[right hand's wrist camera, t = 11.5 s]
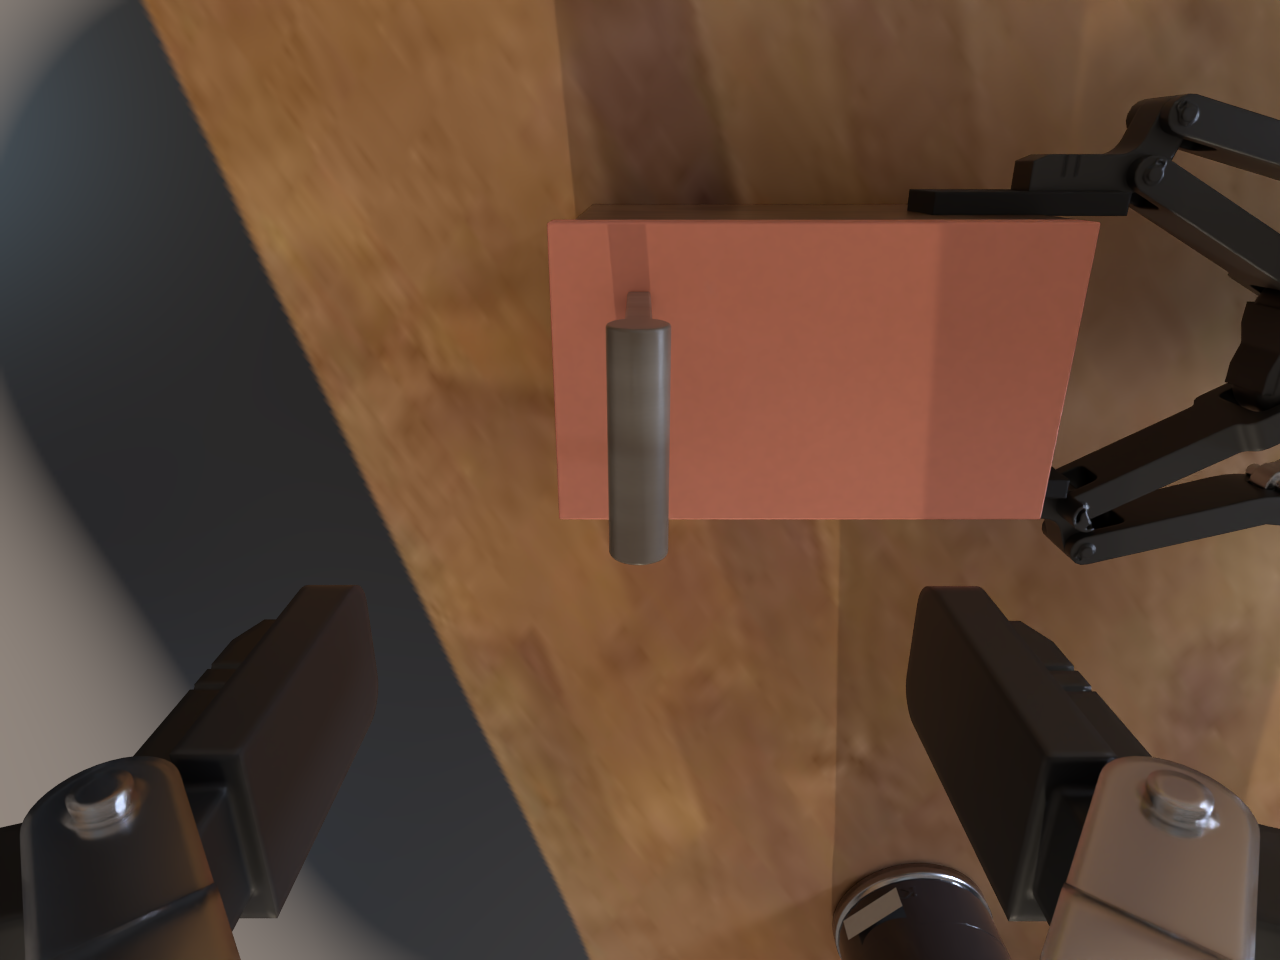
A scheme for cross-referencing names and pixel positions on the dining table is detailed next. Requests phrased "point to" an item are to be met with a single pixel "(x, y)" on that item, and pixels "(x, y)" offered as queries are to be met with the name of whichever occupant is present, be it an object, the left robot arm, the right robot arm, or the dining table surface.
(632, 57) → the dining table surface
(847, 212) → the chest
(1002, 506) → the lid
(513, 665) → the dining table surface
